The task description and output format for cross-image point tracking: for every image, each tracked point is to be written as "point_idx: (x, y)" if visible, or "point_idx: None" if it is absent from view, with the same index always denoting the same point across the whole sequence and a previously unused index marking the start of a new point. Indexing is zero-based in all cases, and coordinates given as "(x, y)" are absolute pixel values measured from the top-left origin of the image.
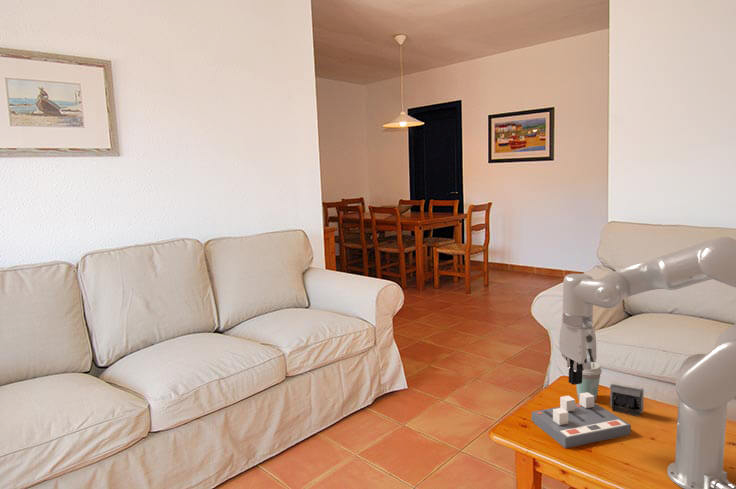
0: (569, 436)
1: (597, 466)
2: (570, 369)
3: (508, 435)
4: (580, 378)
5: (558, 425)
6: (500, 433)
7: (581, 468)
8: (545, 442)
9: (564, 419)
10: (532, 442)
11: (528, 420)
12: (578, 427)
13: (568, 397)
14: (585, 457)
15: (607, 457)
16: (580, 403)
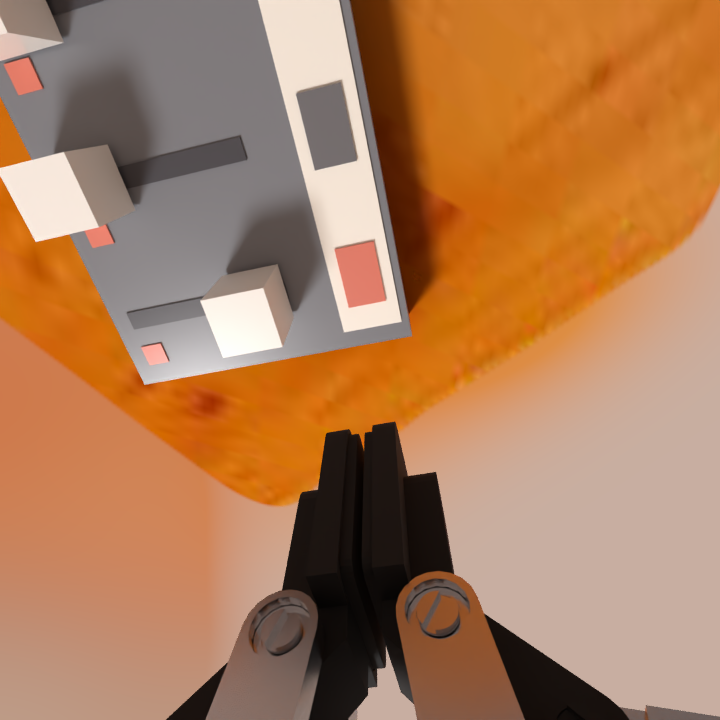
0: (399, 310)
1: (574, 242)
2: (368, 680)
3: (287, 477)
4: (440, 508)
5: None
6: (272, 496)
7: (565, 316)
8: (351, 372)
9: (279, 297)
10: (346, 417)
11: None
12: (318, 222)
13: (33, 186)
14: (495, 260)
15: (522, 152)
16: (5, 56)
